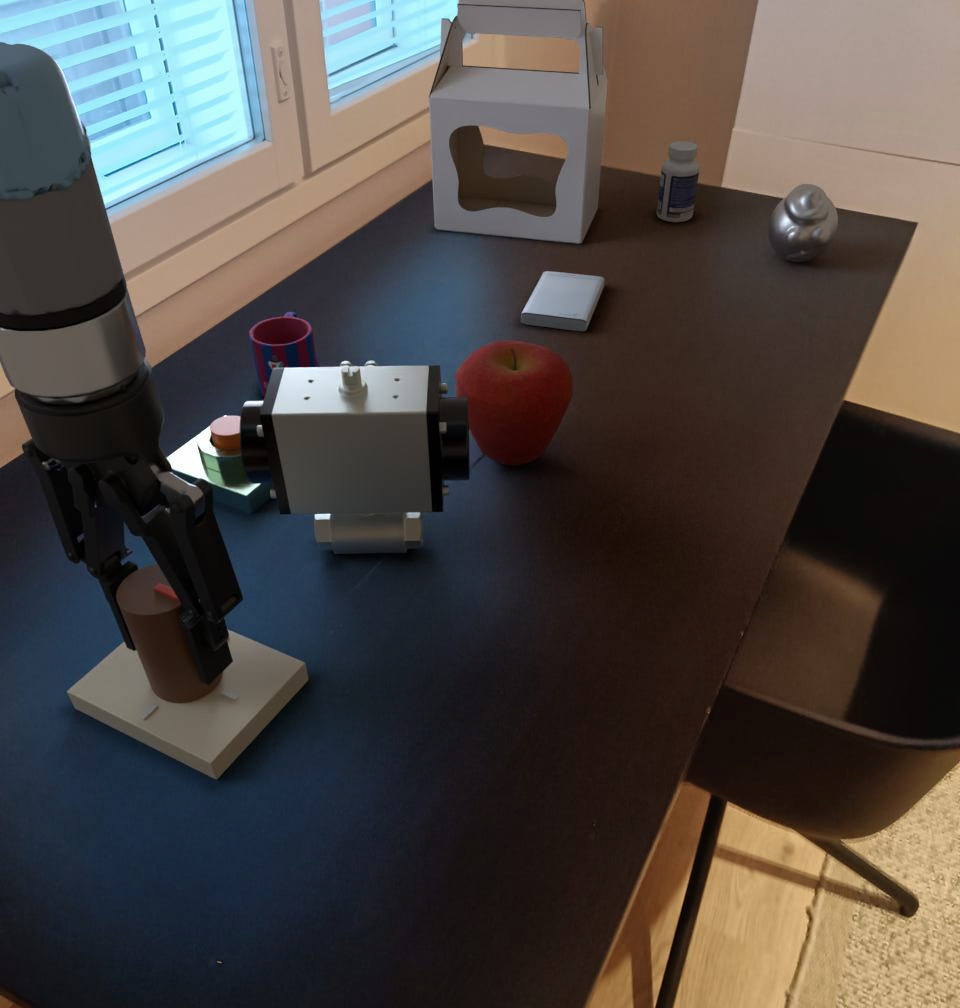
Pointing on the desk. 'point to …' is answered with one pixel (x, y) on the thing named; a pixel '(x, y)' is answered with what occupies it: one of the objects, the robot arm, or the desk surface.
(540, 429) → the apple
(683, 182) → the pill bottle
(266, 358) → the mug
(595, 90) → the gable box
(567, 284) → the hard drive
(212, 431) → the button
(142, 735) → the panel
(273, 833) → the desk surface
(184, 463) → the button box
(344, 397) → the ball valve
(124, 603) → the knob
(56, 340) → the robot arm
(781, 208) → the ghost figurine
